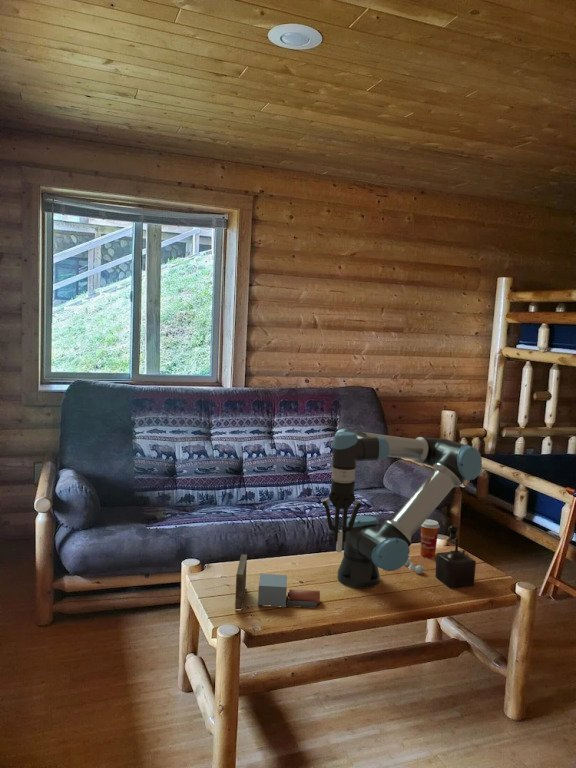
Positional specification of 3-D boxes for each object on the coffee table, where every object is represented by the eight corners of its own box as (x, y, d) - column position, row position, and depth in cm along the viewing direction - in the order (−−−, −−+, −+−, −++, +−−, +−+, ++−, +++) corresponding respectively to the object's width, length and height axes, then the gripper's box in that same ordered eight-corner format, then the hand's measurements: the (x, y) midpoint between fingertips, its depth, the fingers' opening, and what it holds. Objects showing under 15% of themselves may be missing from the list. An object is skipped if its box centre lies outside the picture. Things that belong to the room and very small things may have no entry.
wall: (245, 588, 202) (247, 554, 201) (241, 610, 186) (242, 574, 185) (239, 588, 202) (241, 554, 201) (234, 610, 186) (236, 574, 185)
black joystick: (476, 586, 213) (480, 538, 211) (450, 589, 209) (454, 540, 208) (451, 568, 228) (455, 523, 226) (426, 571, 224) (430, 525, 222)
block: (286, 594, 199) (287, 575, 198) (285, 607, 190) (286, 587, 189) (259, 593, 199) (260, 573, 198) (257, 605, 190) (258, 585, 189)
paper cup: (414, 555, 239) (416, 521, 238) (423, 550, 245) (425, 517, 243) (432, 560, 234) (434, 526, 233) (440, 555, 240) (443, 522, 238)
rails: (315, 598, 197) (316, 593, 197) (316, 607, 191) (316, 603, 191) (287, 596, 198) (287, 592, 197) (287, 606, 191) (287, 601, 191)
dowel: (318, 601, 196) (319, 589, 196) (319, 605, 192) (320, 592, 192) (288, 600, 196) (289, 588, 197) (288, 603, 192) (289, 591, 193)
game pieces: (398, 564, 230) (399, 556, 230) (405, 563, 232) (406, 555, 232) (417, 576, 220) (418, 567, 219) (425, 574, 221) (425, 566, 221)
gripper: (323, 482, 186) (319, 554, 188) (364, 484, 186) (360, 556, 188) (322, 476, 193) (318, 545, 196) (362, 478, 193) (357, 547, 196)
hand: (338, 550), depth 192 cm, fingers closed
